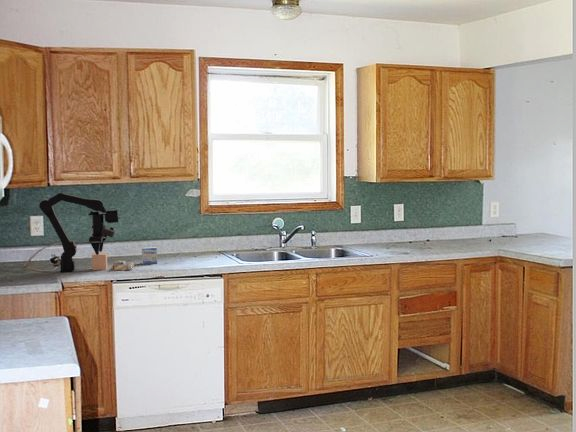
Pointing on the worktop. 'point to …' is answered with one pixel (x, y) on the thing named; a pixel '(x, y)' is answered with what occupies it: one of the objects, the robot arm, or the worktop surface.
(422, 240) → the worktop surface
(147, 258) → the medicine box
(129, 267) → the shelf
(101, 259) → the box
